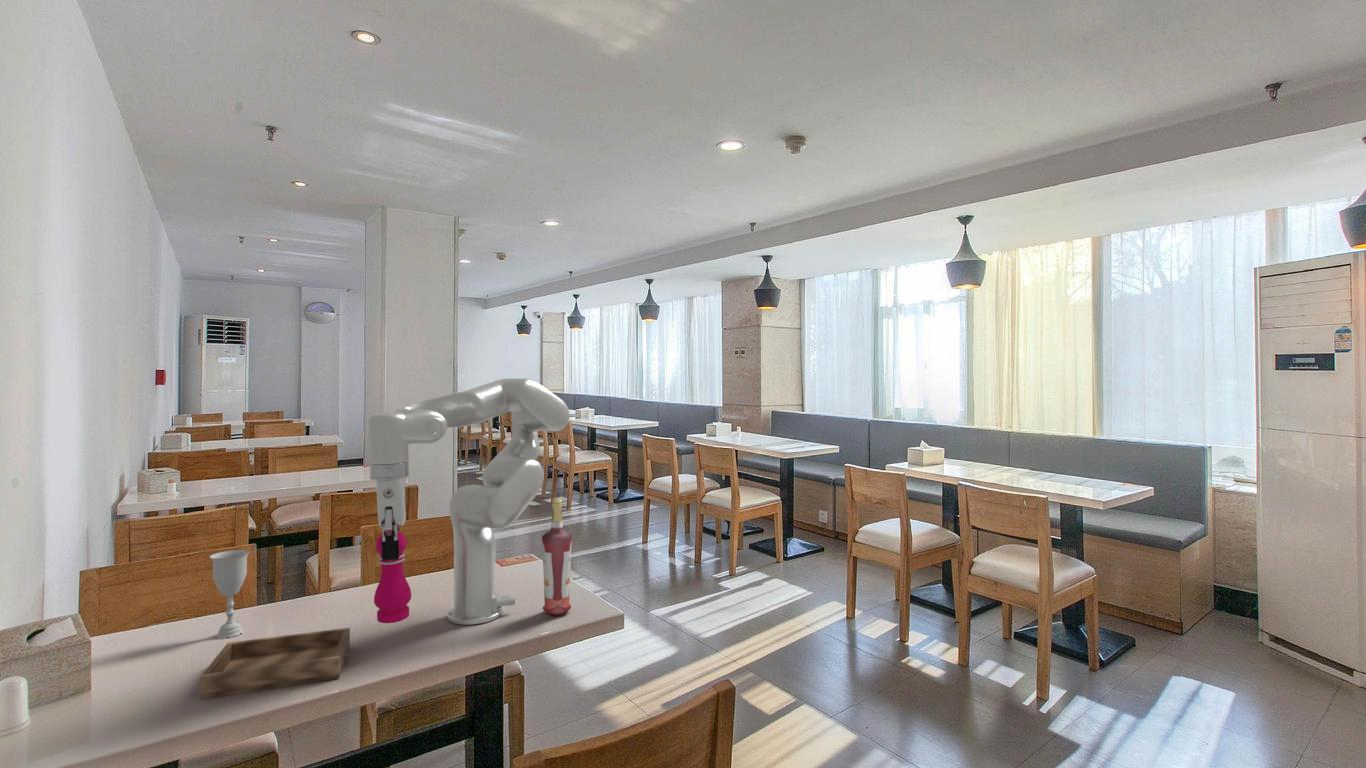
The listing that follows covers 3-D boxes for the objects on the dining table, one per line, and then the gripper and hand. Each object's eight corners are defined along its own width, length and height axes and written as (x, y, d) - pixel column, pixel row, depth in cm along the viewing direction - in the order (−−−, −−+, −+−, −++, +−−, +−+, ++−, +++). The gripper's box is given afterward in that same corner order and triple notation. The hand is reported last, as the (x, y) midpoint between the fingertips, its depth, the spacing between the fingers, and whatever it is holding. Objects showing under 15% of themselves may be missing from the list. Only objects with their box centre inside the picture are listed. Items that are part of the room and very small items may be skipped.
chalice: (207, 642, 138) (206, 560, 138) (213, 631, 144) (213, 552, 144) (247, 636, 141) (247, 555, 141) (251, 626, 147) (251, 548, 147)
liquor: (573, 616, 153) (573, 501, 153) (542, 619, 152) (542, 502, 152) (571, 606, 161) (571, 495, 160) (541, 608, 159) (541, 497, 159)
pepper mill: (397, 625, 131) (395, 529, 130) (366, 623, 132) (364, 528, 132) (418, 612, 138) (416, 521, 138) (389, 610, 140) (387, 519, 139)
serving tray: (349, 646, 136) (349, 627, 136) (338, 678, 121) (338, 657, 121) (227, 662, 128) (227, 642, 128) (200, 699, 113) (200, 677, 113)
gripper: (407, 475, 128) (409, 564, 128) (410, 464, 144) (412, 543, 144) (365, 478, 125) (368, 569, 126) (373, 466, 141) (376, 546, 142)
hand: (391, 554), depth 135 cm, fingers closed on pepper mill, 5 cm apart
